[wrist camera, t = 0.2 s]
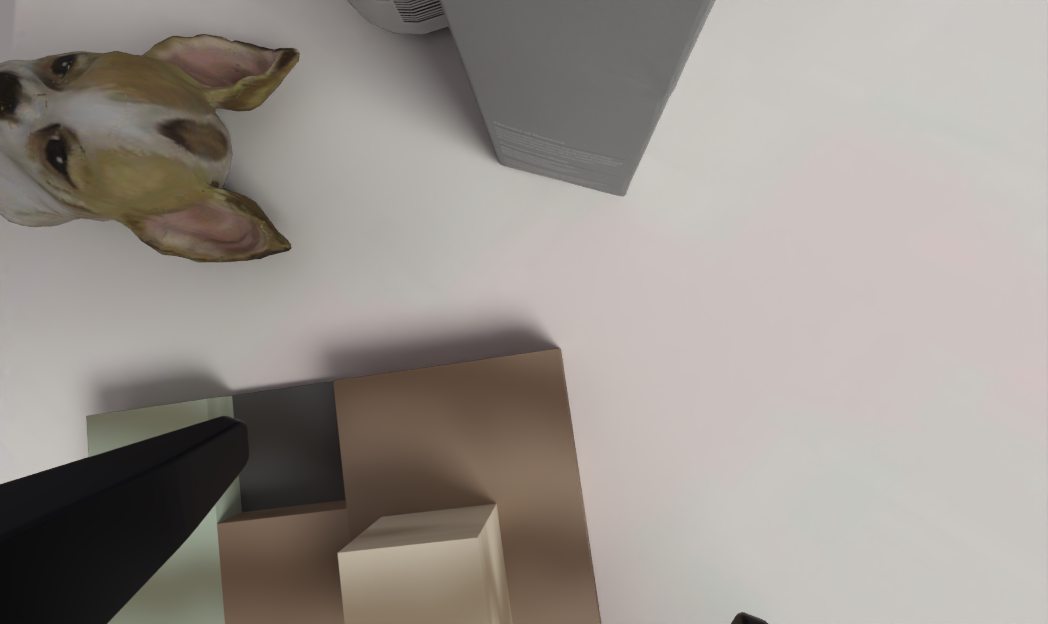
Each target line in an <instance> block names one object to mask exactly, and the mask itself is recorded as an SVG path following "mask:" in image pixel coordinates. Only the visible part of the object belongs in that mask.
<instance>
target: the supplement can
mask: <svg viewBox="0 0 1048 624" xmlns="http://www.w3.org/2000/svg"><path fill="white" fill-rule="evenodd" d="M349 2H350V3H351V5H352V6H353V7H354V8H356V9H357V10H358V11H359V12H360V13H361V14H362V15H363V16H364V17H365V18H366V19H367V20H368V21H369V22H370V23H372V24H374V25H377V26H379V27H382V28H384V29H386V30H389V31H391V32H394V33H404V34H426V33H429V32H432V31H436V30H439V29H442V28H445V27H448V24H447V21H446V18H445V16H444V13H443V10H442V7H441V4H440V1H439V0H349Z"/></svg>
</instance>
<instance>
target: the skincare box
mask: <svg viewBox="0 0 1048 624" xmlns="http://www.w3.org/2000/svg"><path fill="white" fill-rule="evenodd" d="M439 1H440V4H441V7H442V10H443V13H444V16H445V18H446V21H447V24H448V26H449V29H450V32H451V34H452V37H453V40H454V42H455V45H456V48H457V50H458V53H459V56H460V58H461V61H462V63H463V66H464V69H465V72H466V74H467V77H468V80H469V83H470V86H471V88H472V91H473V94H474V96H475V99H476V101H477V104H478V107H479V109H480V112H481V115H482V118H483V120H484V123H485V126H486V128H487V131H488V134H489V136H490V139H491V141H492V144H493V147H494V150H495V153H496V155H497V158H498V160H499V163H500V164H502V165H504V166H507V167H511V168H515V169H519V170H523V171H527V172H531V173H535V174H539V175H543V176H547V177H550V178H554V179H558V180H562V181H565V182H569V183H572V184H576V185H580V186H583V187H587V188H591V189H595V190H598V191H602V192H606V193H610V194H614V195H618V196H625V195H626V192H627V190H628V187H629V184H630V182H631V180H632V178H633V175H634V173H635V171H636V169H637V167H638V165H639V163H640V160H641V158H642V156H643V154H644V152H645V150H646V147H647V145H648V143H649V141H650V138H651V136H652V134H653V132H654V130H655V127H656V125H657V123H658V121H659V119H660V117H661V114H662V112H663V110H664V108H665V106H666V103H667V101H668V99H669V97H670V96H671V94H672V92H673V91H674V89H675V87H676V84H677V82H678V80H679V77H680V75H681V73H682V71H683V68H684V66H685V64H686V62H687V60H688V58H689V55H690V53H691V51H692V49H693V47H694V45H695V43H696V40H697V38H698V36H699V34H700V32H701V30H702V28H703V26H704V23H705V21H706V19H707V17H708V15H709V13H710V11H711V9H712V6H713V4H714V2H715V0H439Z"/></svg>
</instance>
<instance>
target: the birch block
mask: <svg viewBox="0 0 1048 624" xmlns="http://www.w3.org/2000/svg"><path fill="white" fill-rule="evenodd" d="M338 563H339V572H340V582H341V592H342V602H343V612H344V621H345V624H512V616H511V609H510V601H509V594H508V586H507V579H506V571H505V563H504V556H503V548H502V541H501V533H500V525H499V518H498V510H497V504H489V505H480V506H471V507H463V508H454V509H445V510H436V511H428V512H419V513H410V514H402V515H393V516H384V517H381V518H379V519H378V520H377V521H376V522H375V523H373V524H372V525H371V526H370V527H368V528H367V529H366V530H365V531H364V532H362V533H361V534H360V535H359V536H357V537H356V538H355V539H354V540H353V541H351V542H350V543H349V544H348V545H346V546H345V547H344V548H343V549H342V550H340V551H339V552H338Z"/></svg>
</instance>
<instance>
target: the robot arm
mask: <svg viewBox="0 0 1048 624" xmlns="http://www.w3.org/2000/svg"><path fill="white" fill-rule="evenodd" d="M248 459H249V440H248V428H247V425H246V423H245V422H243V421H241V420H238V419H235V418H233V417H230V416H220V417H217V418H213V419H210V420H207V421H204V422H201V423H197V424H194V425H191V426H188V427H184V428H181V429H178V430H175V431H171V432H168V433H165V434H162V435H158V436H155V437H152V438H149V439H146V440H142V441H139V442H136V443H133V444H129V445H126V446H123V447H120V448H116V449H113V450H110V451H107V452H104V453H100V454H97V455H94V456H91V457H87V458H84V459H81V460H78V461H74V462H71V463H68V464H65V465H62V466H58V467H55V468H52V469H49V470H45V471H42V472H39V473H36V474H32V475H29V476H26V477H23V478H19V479H16V480H13V481H10V482H7V483H3V484H0V624H108V623H109V621H110V620H111V619H112V618H113V617H114V616H115V615H116V614H117V613H118V612H119V611H120V610H121V609H122V608H123V607H124V606H125V605H126V604H127V603H128V601H129V600H130V599H131V598H132V597H133V596H134V595H135V594H136V593H137V592H138V591H139V590H140V589H141V588H142V587H143V586H144V585H145V584H146V583H147V582H148V580H149V579H150V578H151V577H152V576H153V575H154V574H155V573H156V572H157V571H158V570H159V569H160V568H161V567H162V566H163V565H164V564H165V563H166V562H167V560H168V559H169V558H170V557H171V556H172V555H173V554H174V553H175V552H176V551H177V550H178V549H179V548H180V547H181V546H182V544H183V543H184V542H185V541H186V540H187V539H188V538H189V537H190V535H191V534H192V533H193V532H194V531H195V529H196V528H197V527H198V526H199V525H200V523H201V522H202V521H203V519H204V518H205V517H206V516H207V514H208V513H209V512H210V511H211V509H212V508H213V507H214V506H215V504H216V503H217V502H218V501H219V499H220V498H221V497H222V496H223V494H224V493H225V492H226V490H227V489H228V488H229V487H230V485H231V484H232V483H233V482H234V480H235V479H236V478H237V477H238V475H239V474H240V473H241V472H242V470H243V469H244V468H245V466H246V464H247V462H248ZM731 624H768V623H767V622H766V621H764V620H762V619H760V618H757V617H755V616H752V615H749V614H747V613H744V612H741V613H738V614H737V615H736V616H735V618H734V620H733V621H732V623H731Z"/></svg>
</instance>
